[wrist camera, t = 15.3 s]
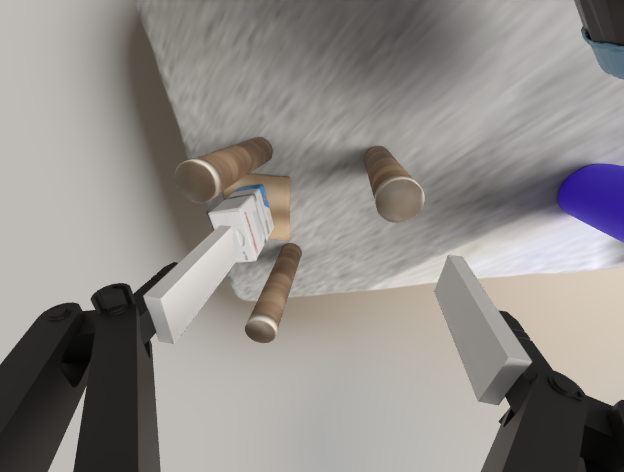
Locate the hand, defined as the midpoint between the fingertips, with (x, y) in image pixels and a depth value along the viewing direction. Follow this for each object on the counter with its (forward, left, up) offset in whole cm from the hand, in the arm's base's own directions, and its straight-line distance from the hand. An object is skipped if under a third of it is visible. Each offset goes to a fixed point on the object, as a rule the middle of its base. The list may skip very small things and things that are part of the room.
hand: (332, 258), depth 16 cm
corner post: (+18, -8, -29) cm, 35 cm away
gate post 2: (-1, +5, -29) cm, 29 cm away
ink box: (+9, -14, -28) cm, 33 cm away
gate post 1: (-1, -14, -29) cm, 32 cm away
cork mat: (+9, -15, -29) cm, 33 cm away
